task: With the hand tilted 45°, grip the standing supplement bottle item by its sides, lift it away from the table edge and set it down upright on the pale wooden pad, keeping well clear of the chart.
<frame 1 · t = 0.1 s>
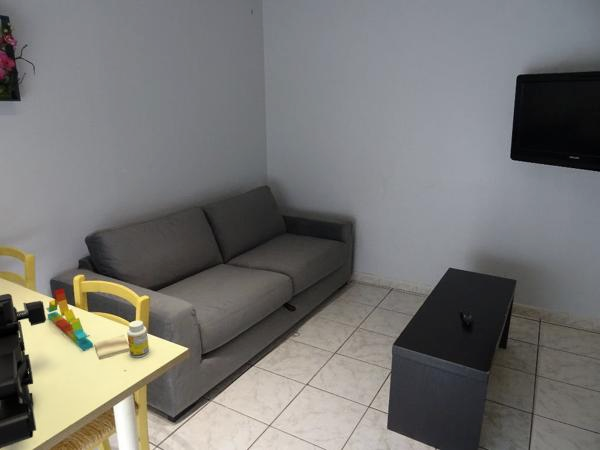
hand: (6, 308, 130), 17 cm above the table, tool horizontal, fingers open, 9 cm apart
supplement bottle: (139, 353, 137), on the table
wooden pad: (112, 348, 140), on the table
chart: (69, 333, 150), on the table
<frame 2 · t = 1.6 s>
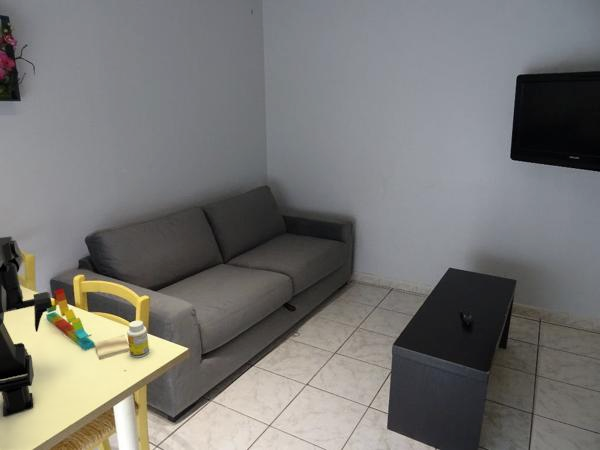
hand: (17, 335, 122), 13 cm above the table, tool pointing down, fingers open, 9 cm apart
nothing on the table moved.
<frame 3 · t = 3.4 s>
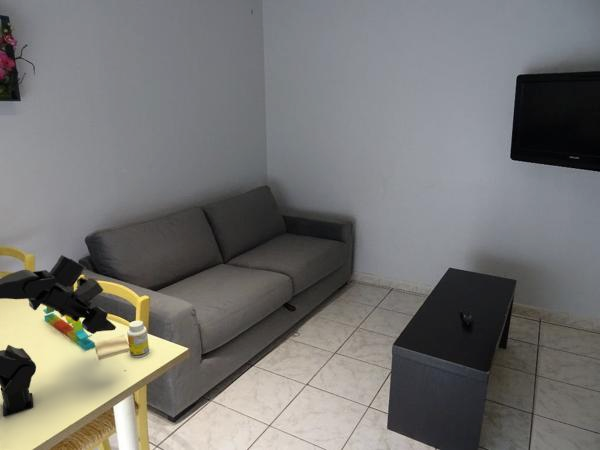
hand: (107, 322, 128), 14 cm above the table, tool tilted 45°, fingers open, 9 cm apart
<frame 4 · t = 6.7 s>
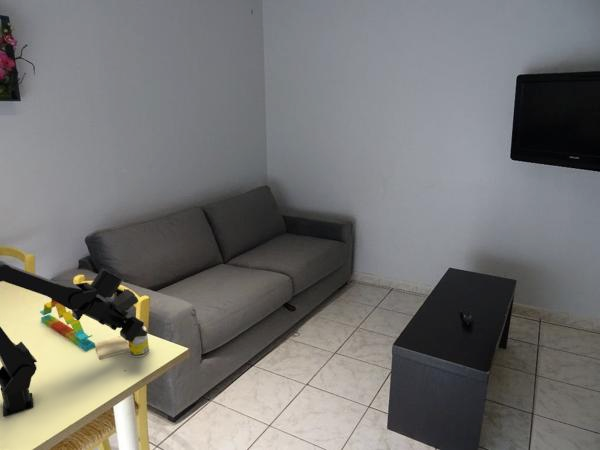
hand: (141, 330, 136), 7 cm above the table, tool tilted 45°, fingers closed on supplement bottle, 5 cm apart
supplement bottle: (139, 353, 137), on the table, touching gripper
when the fingers open (9 cm above the table, at t = 10.4 s): supplement bottle drops 1 cm, resting on wooden pad.
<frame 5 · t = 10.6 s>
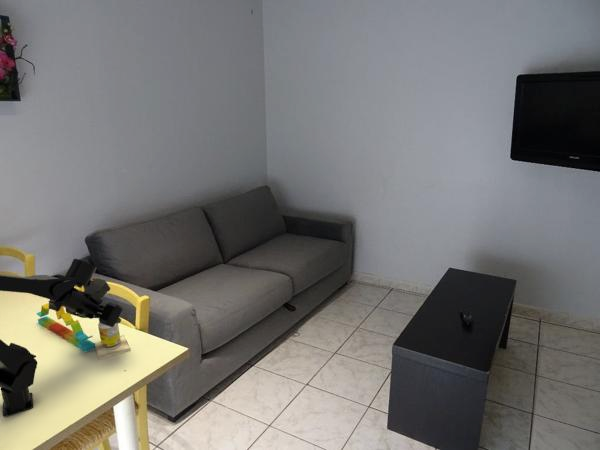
hand: (112, 318, 139), 9 cm above the table, tool tilted 45°, fingers open, 7 cm apart
supplement bottle: (111, 345, 140), point 1 cm above the table, touching wooden pad
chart: (66, 336, 148), on the table, touching wooden pad
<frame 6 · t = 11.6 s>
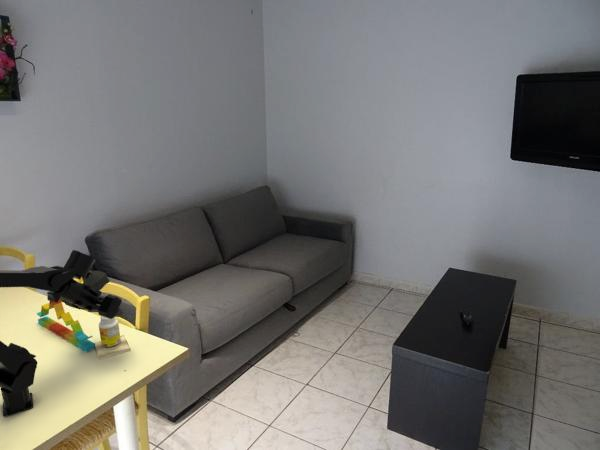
hand: (111, 311, 138), 12 cm above the table, tool tilted 45°, fingers open, 9 cm apart
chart: (66, 336, 148), on the table
everything else where it was.
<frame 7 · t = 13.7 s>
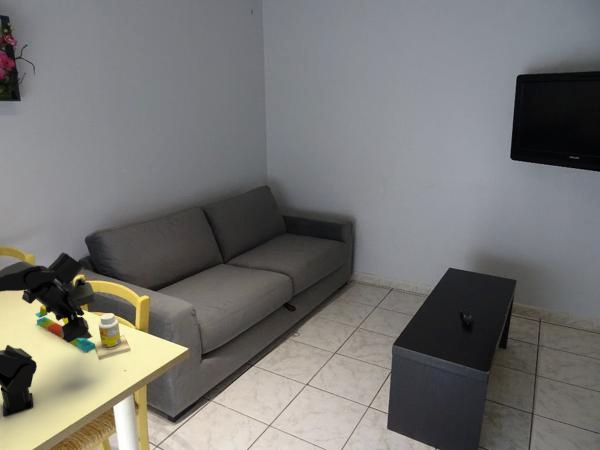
hand: (86, 325, 129), 12 cm above the table, tool tilted 35°, fingers open, 9 cm apart
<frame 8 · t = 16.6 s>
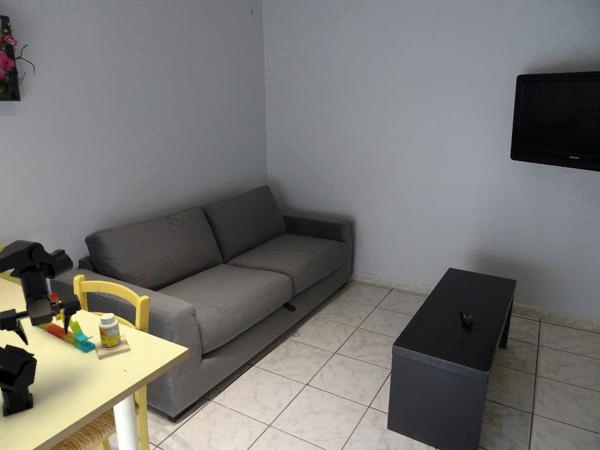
hand: (47, 339, 121), 13 cm above the table, tool pointing down, fingers open, 9 cm apart
at the end: supplement bottle 0.2 cm off-centre on the wooden pad, point 0.8 cm above the wooden pad's base; supplement bottle tilted 0°; the gripper is holding nothing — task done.
